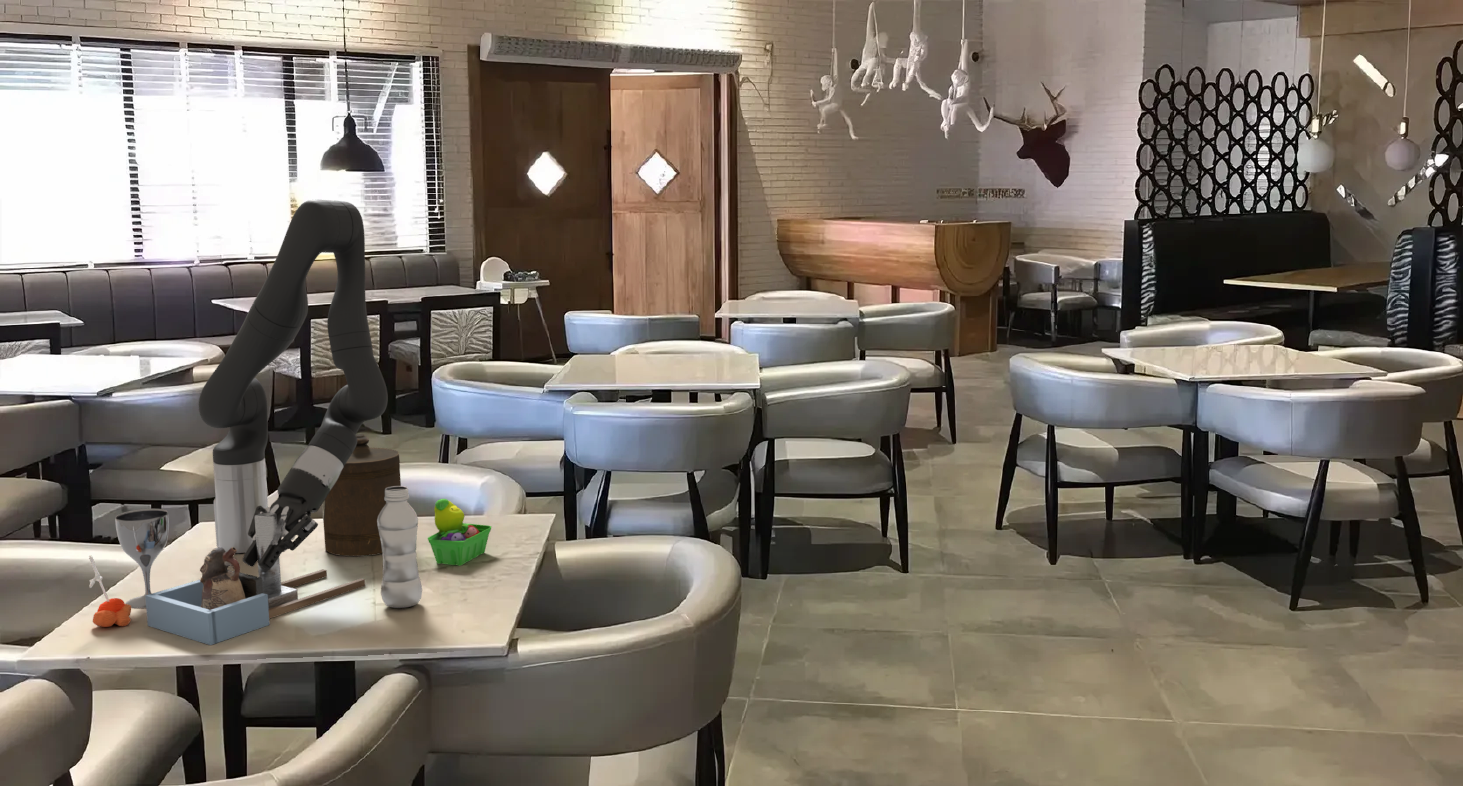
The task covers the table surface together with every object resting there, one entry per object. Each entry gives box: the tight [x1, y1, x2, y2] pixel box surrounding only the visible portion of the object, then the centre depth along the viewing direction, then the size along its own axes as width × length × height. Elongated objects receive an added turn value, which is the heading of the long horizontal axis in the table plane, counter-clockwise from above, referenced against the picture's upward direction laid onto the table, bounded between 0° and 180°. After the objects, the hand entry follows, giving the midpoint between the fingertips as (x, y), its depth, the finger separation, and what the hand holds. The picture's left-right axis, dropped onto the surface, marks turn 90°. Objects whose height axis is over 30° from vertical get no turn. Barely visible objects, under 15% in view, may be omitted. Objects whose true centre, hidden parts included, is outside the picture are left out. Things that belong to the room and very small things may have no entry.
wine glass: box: [114, 508, 170, 609], centre depth 207 cm, size 8×8×15 cm
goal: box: [144, 579, 270, 646], centre depth 196 cm, size 16×11×5 cm, turn 57°
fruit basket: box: [427, 498, 492, 567], centre depth 232 cm, size 11×9×11 cm
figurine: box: [199, 546, 246, 610], centre depth 198 cm, size 7×7×12 cm
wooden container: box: [321, 433, 402, 557], centre depth 239 cm, size 15×15×22 cm
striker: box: [232, 513, 299, 609], centre depth 204 cm, size 7×8×15 cm
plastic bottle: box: [377, 485, 423, 609], centre depth 204 cm, size 6×7×20 cm
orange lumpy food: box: [88, 555, 132, 628], centre depth 195 cm, size 6×10×12 cm, turn 170°
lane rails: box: [269, 569, 366, 619], centre depth 209 cm, size 11×22×1 cm, turn 148°
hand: (255, 565), depth 203 cm, fingers closed on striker, 3 cm apart
